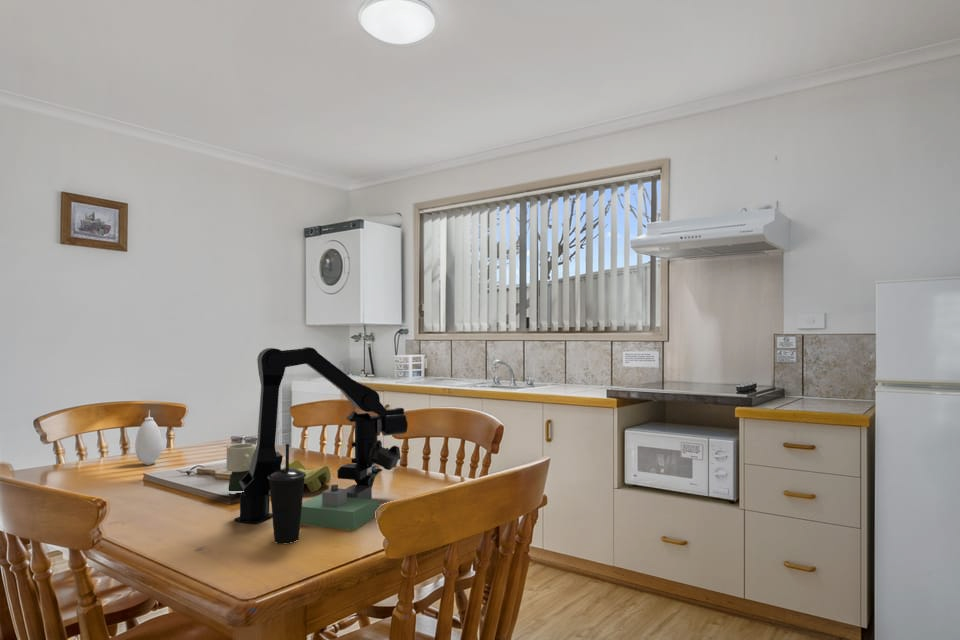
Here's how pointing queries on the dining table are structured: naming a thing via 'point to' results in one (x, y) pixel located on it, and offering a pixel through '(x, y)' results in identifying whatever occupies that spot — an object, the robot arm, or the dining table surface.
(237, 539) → the dining table surface
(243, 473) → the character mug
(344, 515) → the green base with blocks
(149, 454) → the white bulb air blower
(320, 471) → the plastic component
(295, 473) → the drinking cup
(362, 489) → the charcoal rectangular prism
